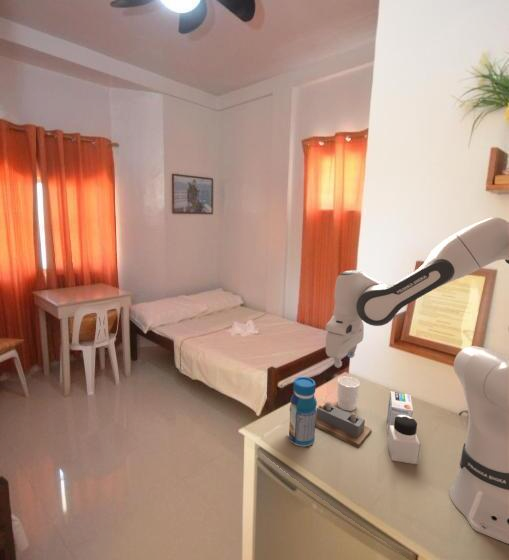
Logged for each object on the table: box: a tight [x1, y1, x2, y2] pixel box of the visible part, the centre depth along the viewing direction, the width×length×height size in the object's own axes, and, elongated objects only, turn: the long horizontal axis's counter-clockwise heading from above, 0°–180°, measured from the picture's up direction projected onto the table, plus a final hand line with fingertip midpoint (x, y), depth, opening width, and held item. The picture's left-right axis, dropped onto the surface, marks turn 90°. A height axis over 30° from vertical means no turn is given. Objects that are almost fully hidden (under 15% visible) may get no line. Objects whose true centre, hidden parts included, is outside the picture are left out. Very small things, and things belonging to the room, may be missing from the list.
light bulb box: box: [386, 390, 414, 436], centre depth 111 cm, size 11×7×11 cm, turn 160°
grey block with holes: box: [316, 401, 366, 438], centre depth 111 cm, size 15×5×5 cm, turn 50°
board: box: [315, 401, 372, 449], centre depth 111 cm, size 18×10×7 cm, turn 49°
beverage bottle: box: [288, 376, 318, 447], centre depth 104 cm, size 8×8×20 cm
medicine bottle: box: [387, 415, 421, 465], centre depth 99 cm, size 7×7×12 cm
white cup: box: [336, 376, 360, 412], centre depth 124 cm, size 8×8×10 cm
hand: (344, 361), depth 107 cm, fingers open, 8 cm apart
